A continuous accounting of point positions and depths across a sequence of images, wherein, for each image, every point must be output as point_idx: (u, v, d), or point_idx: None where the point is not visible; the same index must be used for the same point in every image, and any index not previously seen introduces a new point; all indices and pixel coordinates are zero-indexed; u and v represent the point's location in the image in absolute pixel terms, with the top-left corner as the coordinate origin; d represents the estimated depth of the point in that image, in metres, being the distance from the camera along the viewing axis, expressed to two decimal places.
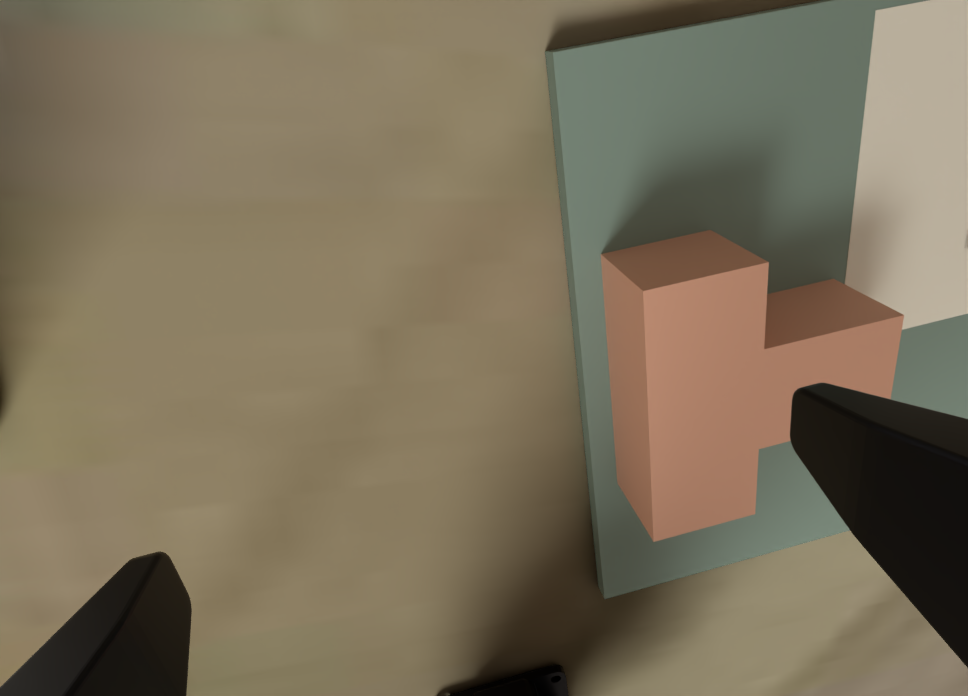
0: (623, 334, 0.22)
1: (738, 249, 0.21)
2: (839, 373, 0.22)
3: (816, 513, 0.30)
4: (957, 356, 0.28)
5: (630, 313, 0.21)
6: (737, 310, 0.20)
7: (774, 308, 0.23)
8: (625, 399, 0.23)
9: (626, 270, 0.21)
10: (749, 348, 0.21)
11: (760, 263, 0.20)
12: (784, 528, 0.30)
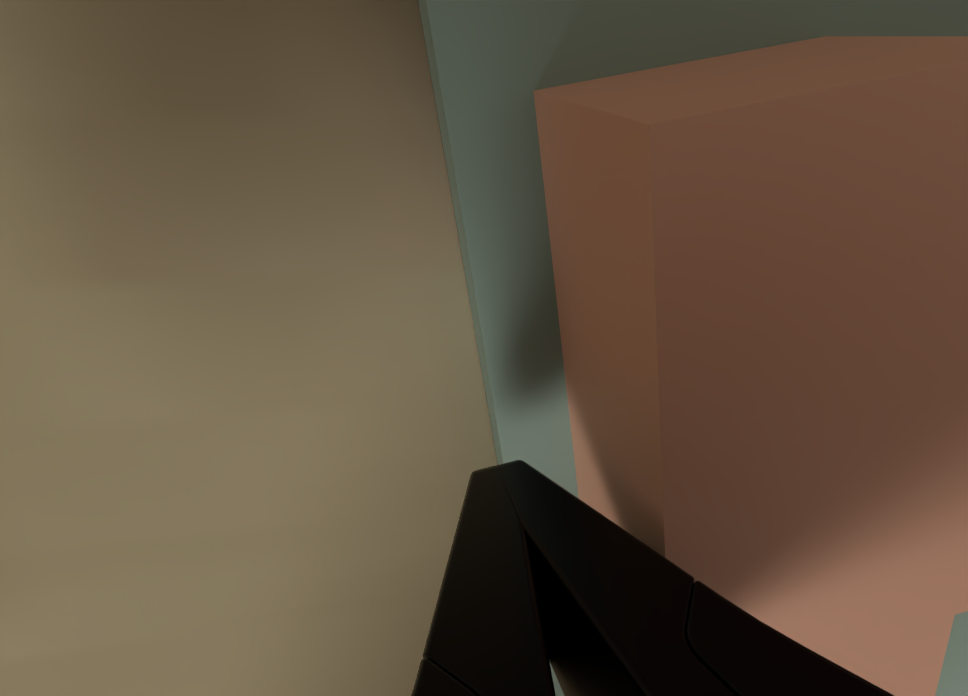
0: (593, 305, 0.08)
1: (945, 39, 0.07)
2: None
3: None
4: None
5: (610, 235, 0.07)
6: (964, 216, 0.06)
7: None
8: (603, 478, 0.09)
9: (597, 100, 0.07)
10: None
11: None
12: None
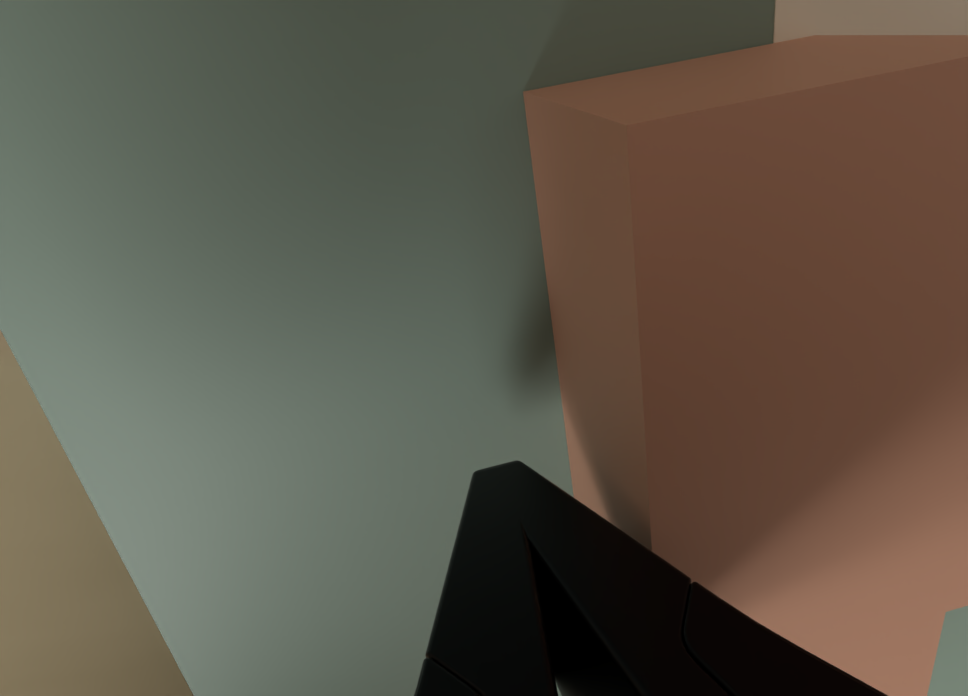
0: (581, 304, 0.08)
1: (927, 37, 0.07)
2: None
3: None
4: None
5: (595, 235, 0.07)
6: (945, 215, 0.06)
7: None
8: (595, 475, 0.09)
9: (581, 101, 0.07)
10: (963, 342, 0.07)
11: None
12: None
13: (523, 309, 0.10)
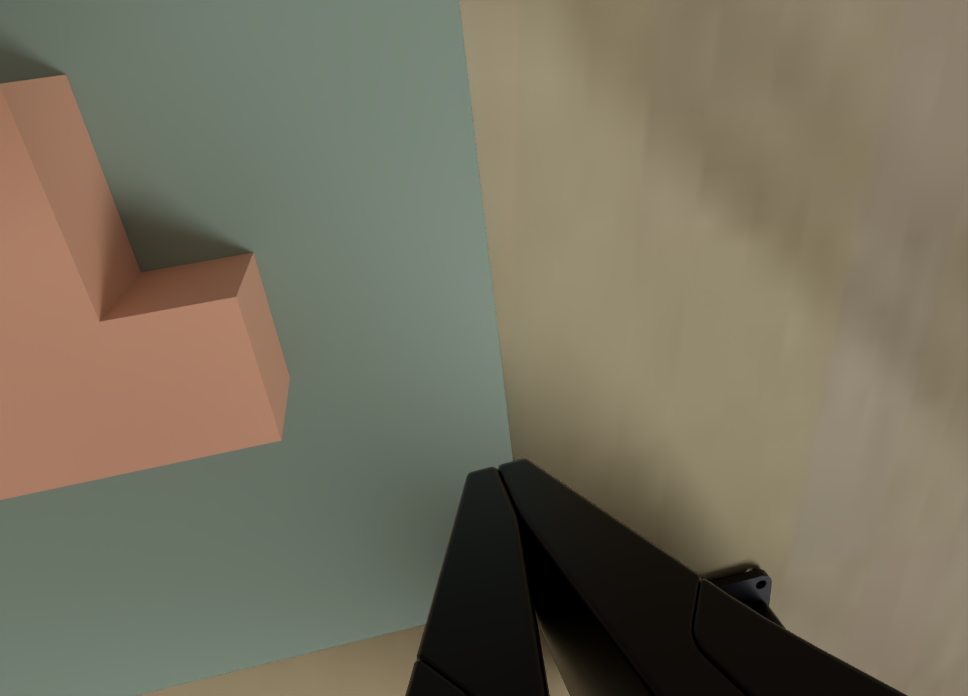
0: None
1: None
2: None
3: (451, 377, 0.21)
4: (172, 236, 0.18)
5: None
6: None
7: None
8: None
9: None
10: None
11: None
12: (468, 417, 0.22)
13: (104, 548, 0.21)
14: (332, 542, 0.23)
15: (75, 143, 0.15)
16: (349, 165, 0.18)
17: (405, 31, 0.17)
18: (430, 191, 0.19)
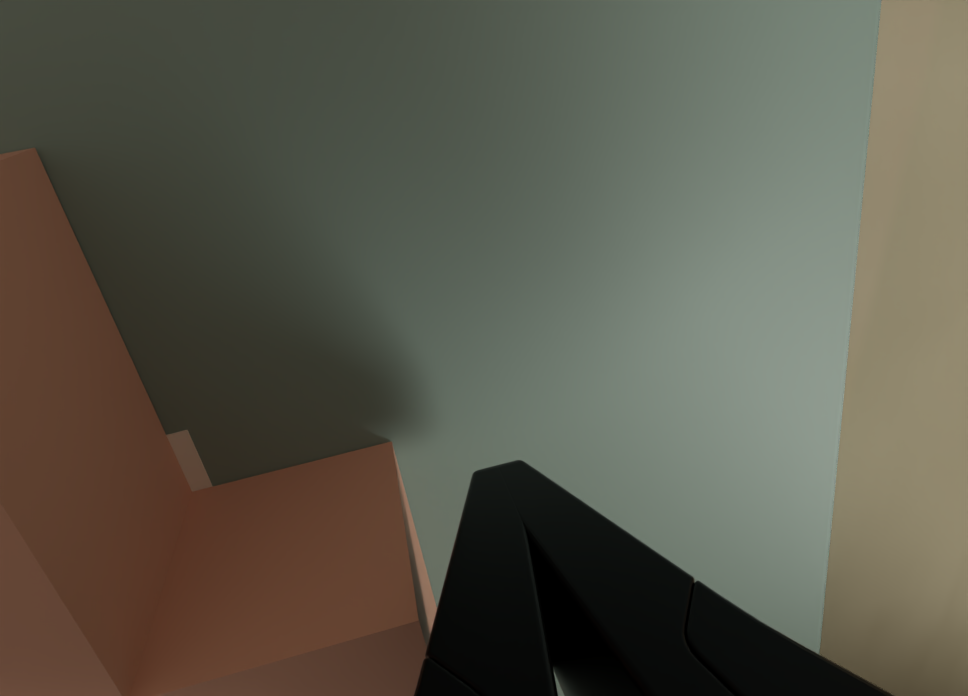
0: None
1: None
2: None
3: (752, 569, 0.13)
4: (333, 406, 0.10)
5: None
6: None
7: None
8: None
9: None
10: None
11: None
12: (767, 620, 0.14)
13: None
14: None
15: (59, 297, 0.07)
16: (647, 260, 0.10)
17: (782, 4, 0.09)
18: (773, 291, 0.10)
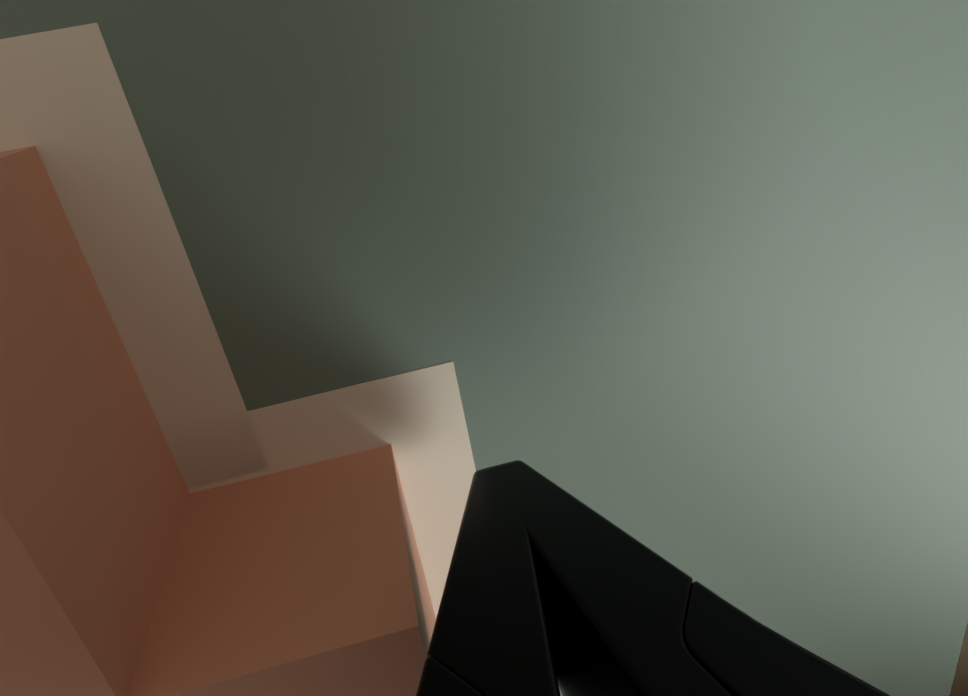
0: None
1: None
2: None
3: (926, 517, 0.13)
4: (585, 341, 0.10)
5: None
6: None
7: None
8: None
9: None
10: None
11: None
12: (931, 569, 0.14)
13: None
14: None
15: (57, 297, 0.07)
16: (885, 202, 0.10)
17: None
18: None
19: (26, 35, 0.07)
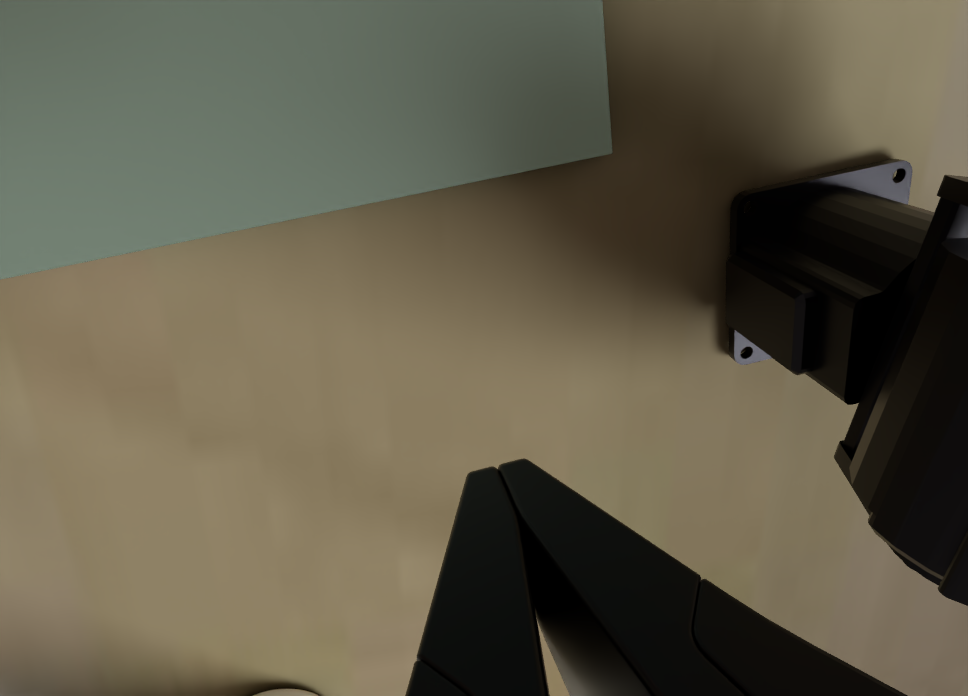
0: None
1: None
2: None
3: None
4: None
5: None
6: None
7: None
8: None
9: None
10: None
11: None
12: None
13: None
14: (356, 11, 0.17)
15: None
16: None
17: None
18: None
19: None
